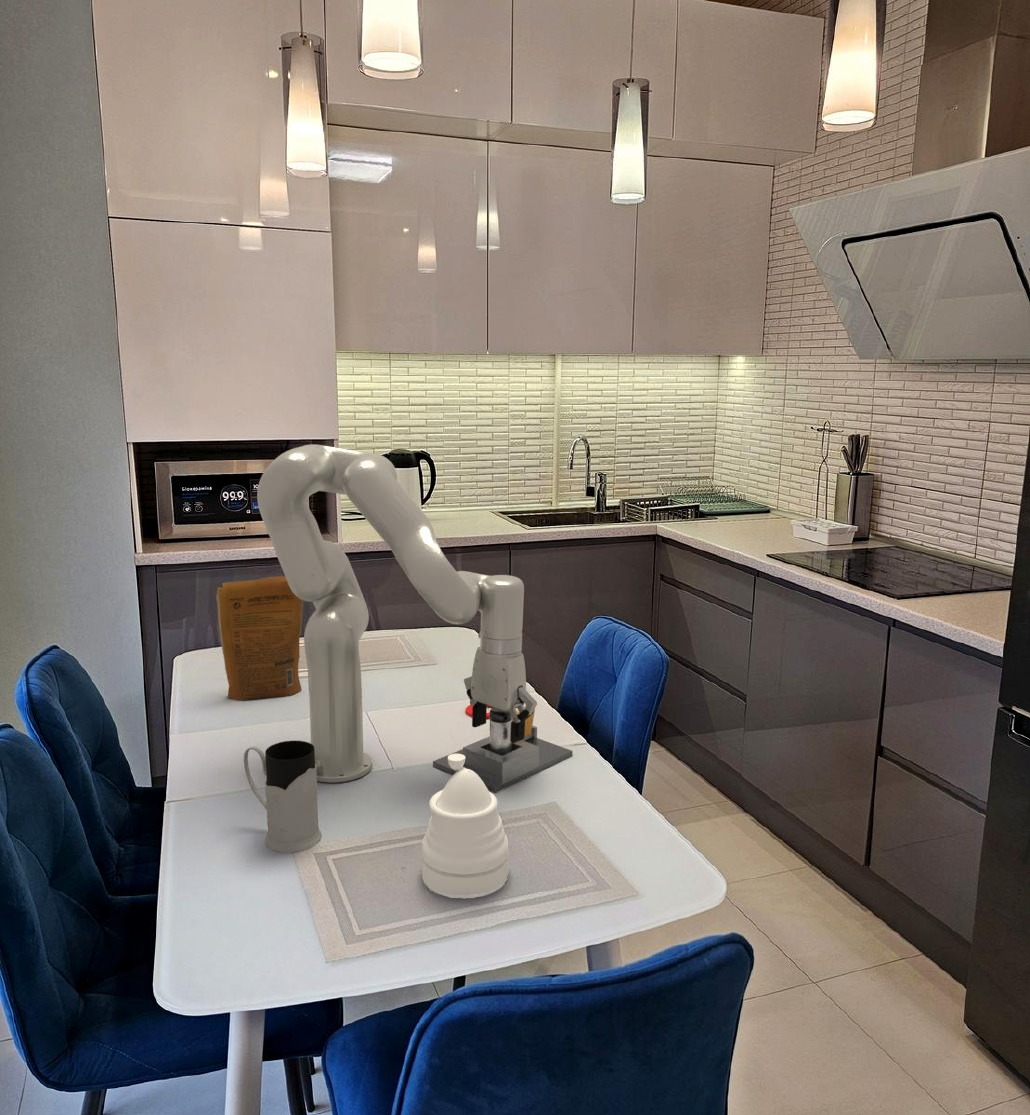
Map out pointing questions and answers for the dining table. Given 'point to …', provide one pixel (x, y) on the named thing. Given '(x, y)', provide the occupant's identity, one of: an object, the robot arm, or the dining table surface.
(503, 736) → the pin
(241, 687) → the pancake mix bag
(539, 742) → the plate
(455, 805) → the honey pot
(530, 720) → the tab
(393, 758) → the dining table surface
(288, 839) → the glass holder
